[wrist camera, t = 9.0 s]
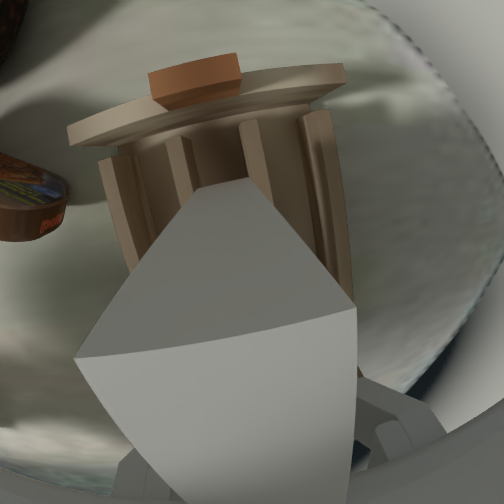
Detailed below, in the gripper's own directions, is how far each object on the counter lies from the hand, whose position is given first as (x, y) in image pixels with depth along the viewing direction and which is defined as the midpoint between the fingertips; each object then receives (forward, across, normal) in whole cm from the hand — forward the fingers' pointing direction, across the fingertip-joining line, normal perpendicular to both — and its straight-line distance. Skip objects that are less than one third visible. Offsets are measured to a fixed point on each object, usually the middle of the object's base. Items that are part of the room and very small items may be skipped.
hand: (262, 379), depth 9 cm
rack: (+14, 0, 0) cm, 14 cm away
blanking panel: (+5, 0, 0) cm, 5 cm away
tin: (+14, +17, -10) cm, 24 cm away
